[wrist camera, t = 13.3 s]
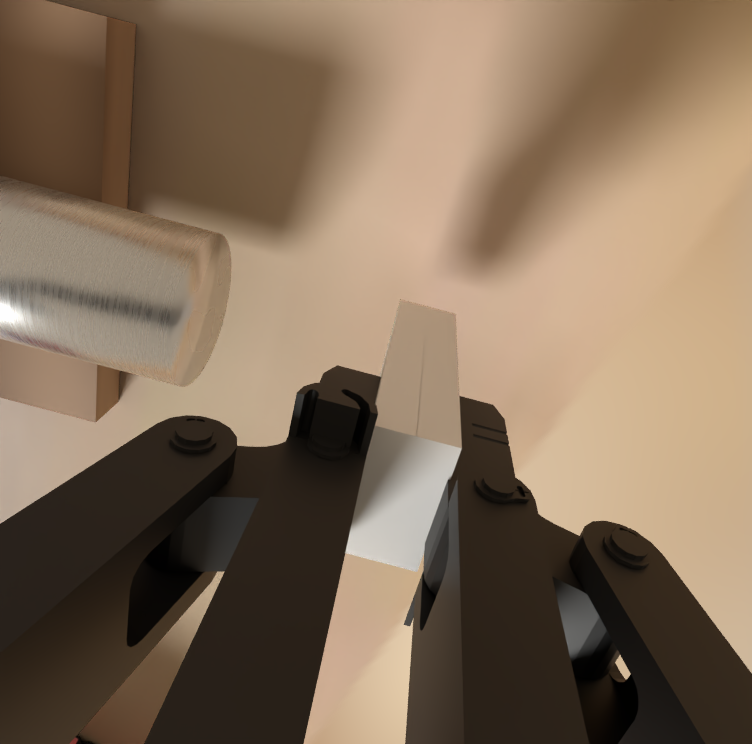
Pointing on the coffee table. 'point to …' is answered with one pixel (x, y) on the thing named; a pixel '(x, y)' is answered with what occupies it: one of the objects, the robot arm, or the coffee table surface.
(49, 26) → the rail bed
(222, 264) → the shaft
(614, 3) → the coffee table surface
